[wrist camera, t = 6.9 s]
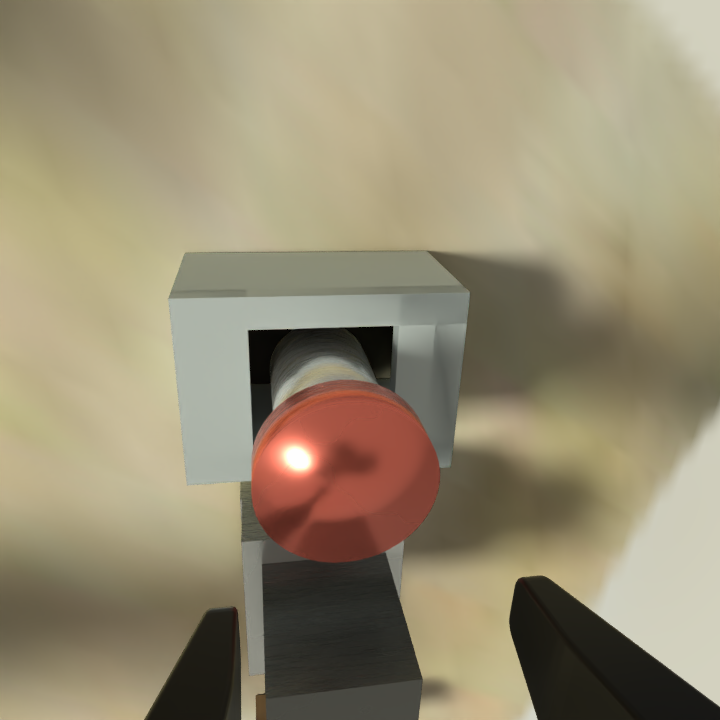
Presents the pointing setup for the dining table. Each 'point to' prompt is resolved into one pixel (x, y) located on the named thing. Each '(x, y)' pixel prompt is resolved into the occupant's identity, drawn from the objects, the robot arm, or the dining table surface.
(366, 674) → the carriage
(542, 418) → the dining table surface
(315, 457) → the red plunger button
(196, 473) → the button housing
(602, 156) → the dining table surface
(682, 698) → the robot arm
